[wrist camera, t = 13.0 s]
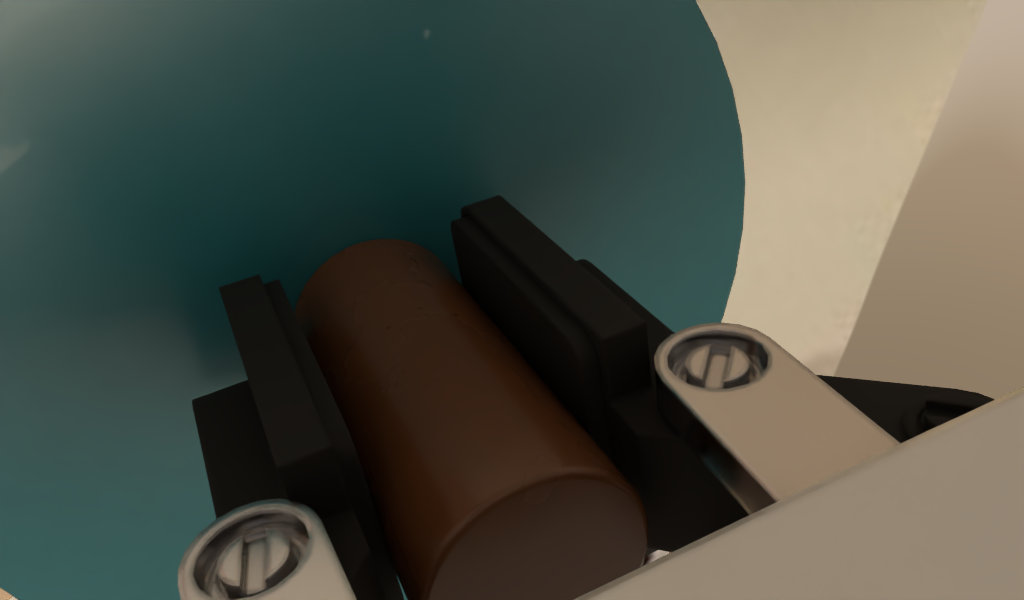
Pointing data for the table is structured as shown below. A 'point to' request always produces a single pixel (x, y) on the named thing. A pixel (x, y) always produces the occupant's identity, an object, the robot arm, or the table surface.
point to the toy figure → (4, 595)
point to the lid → (337, 263)
